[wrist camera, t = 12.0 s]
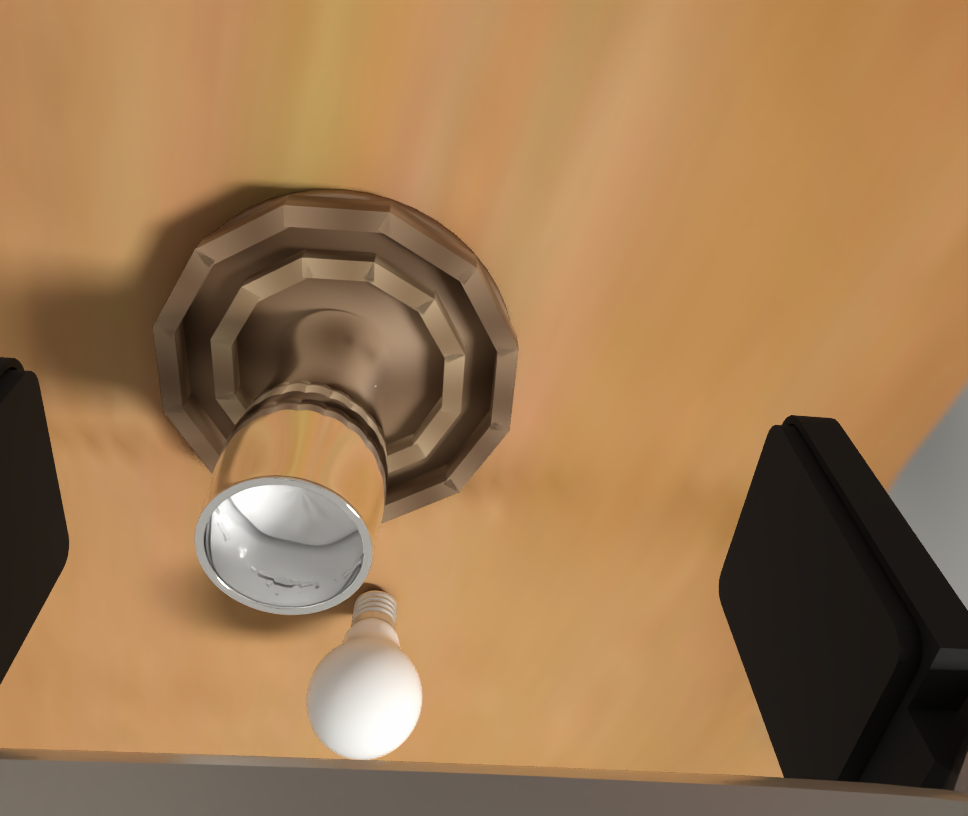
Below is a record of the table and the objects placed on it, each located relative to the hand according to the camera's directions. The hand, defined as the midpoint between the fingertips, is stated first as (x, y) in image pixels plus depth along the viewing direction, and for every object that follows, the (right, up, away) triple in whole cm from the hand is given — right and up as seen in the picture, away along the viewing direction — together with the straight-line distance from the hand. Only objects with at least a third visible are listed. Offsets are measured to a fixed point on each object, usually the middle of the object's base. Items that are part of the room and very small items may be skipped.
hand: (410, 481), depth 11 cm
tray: (-6, +4, +35) cm, 36 cm away
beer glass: (-7, +3, +34) cm, 35 cm away
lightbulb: (-6, -11, +44) cm, 45 cm away
